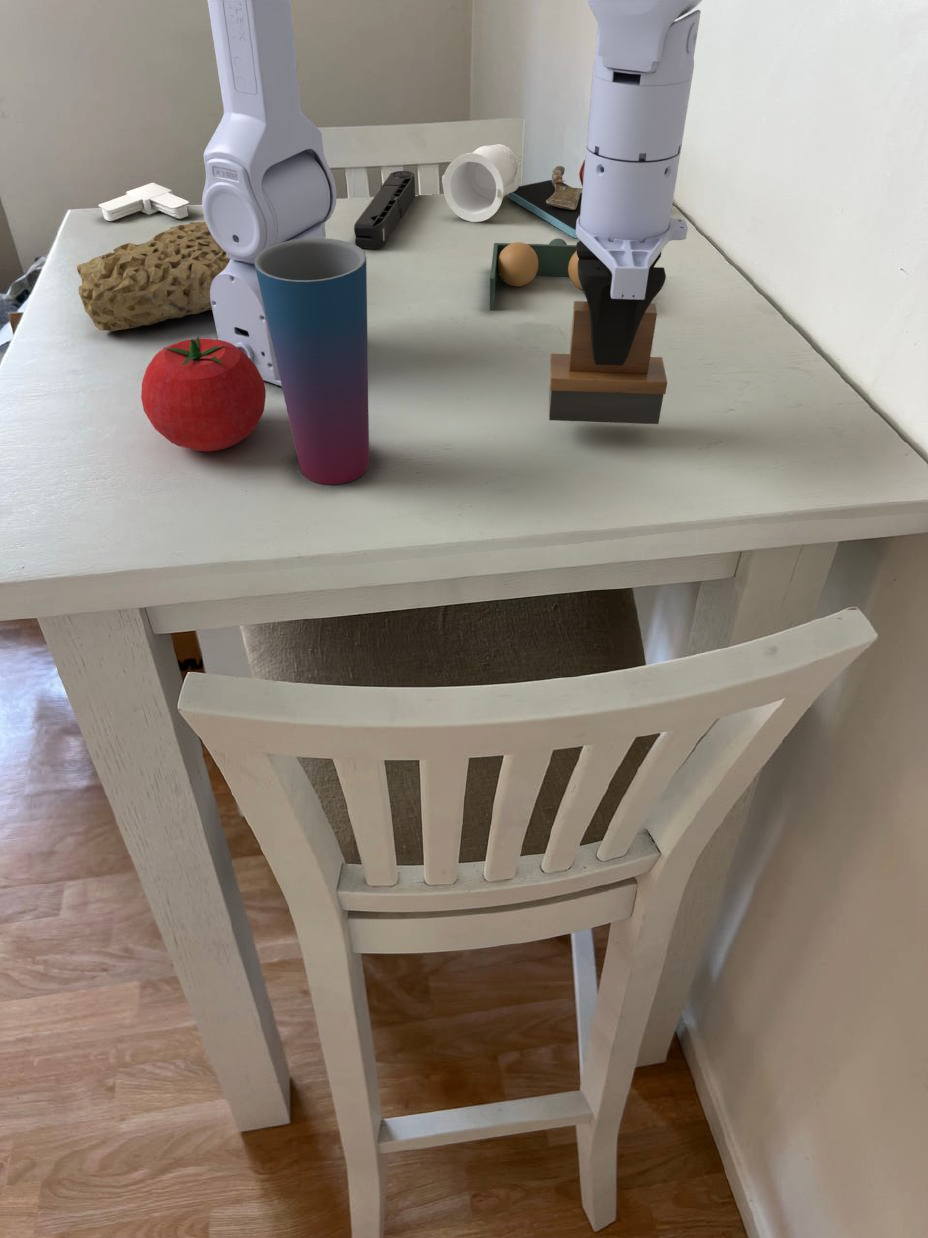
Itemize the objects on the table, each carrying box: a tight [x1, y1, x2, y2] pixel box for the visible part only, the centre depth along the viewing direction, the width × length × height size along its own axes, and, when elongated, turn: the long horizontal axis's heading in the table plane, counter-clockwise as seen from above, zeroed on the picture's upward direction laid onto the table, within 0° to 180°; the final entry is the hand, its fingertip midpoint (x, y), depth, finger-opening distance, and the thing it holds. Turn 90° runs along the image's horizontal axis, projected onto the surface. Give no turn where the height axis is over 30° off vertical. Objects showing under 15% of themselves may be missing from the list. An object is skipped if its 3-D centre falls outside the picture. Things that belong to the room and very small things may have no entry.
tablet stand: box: [353, 170, 416, 250], centre depth 100 cm, size 18×3×3 cm
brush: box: [548, 300, 668, 425], centre depth 64 cm, size 4×8×8 cm, turn 86°
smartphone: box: [508, 179, 582, 240], centre depth 102 cm, size 7×1×15 cm
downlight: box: [441, 143, 520, 223], centre depth 101 cm, size 8×7×10 cm
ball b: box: [497, 241, 538, 287], centre depth 86 cm, size 4×4×4 cm
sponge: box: [76, 221, 230, 332], centre depth 82 cm, size 13×8×20 cm
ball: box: [568, 251, 583, 290], centre depth 86 cm, size 4×4×4 cm
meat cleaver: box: [546, 165, 582, 210], centre depth 103 cm, size 12×1×5 cm
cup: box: [255, 237, 370, 485], centre depth 60 cm, size 7×7×15 cm
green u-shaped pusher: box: [489, 237, 577, 311], centre depth 86 cm, size 12×13×3 cm
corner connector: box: [97, 182, 190, 222], centre depth 101 cm, size 8×8×2 cm
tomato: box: [140, 336, 267, 452], centre depth 65 cm, size 9×9×8 cm
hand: (608, 355), depth 63 cm, fingers closed on brush, 2 cm apart
